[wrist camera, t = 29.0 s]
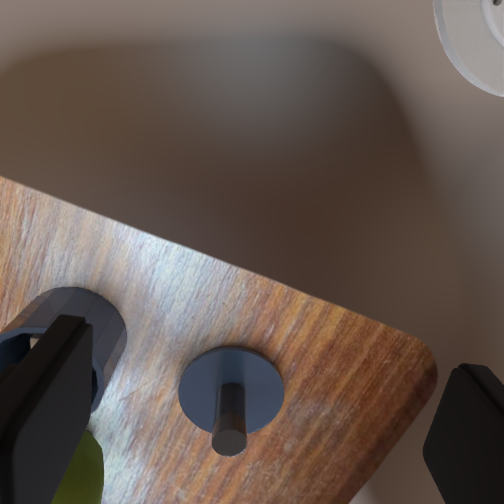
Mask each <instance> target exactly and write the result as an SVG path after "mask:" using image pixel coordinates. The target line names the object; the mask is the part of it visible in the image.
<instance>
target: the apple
mask: <svg viewBox="0 0 504 504" xmlns="http://www.w3.org/2000/svg"><path fill="white" fill-rule="evenodd" d="M103 486H104V463H103V453H102V448H101V447H100V445H99V444H98V442H97V441H96V439H95V438H94V437H93V435H92V434H91V433H89V432H88V431H85V432H84V434H83V436H82V438H81V440H80V442H79V445H78V447H77V449H76V451H75V453H74V455H73V457H72V460H71V462H70V464H69V466H68V468H67V470H66V472H65V474H64V477H63V479H62V481H61V483H60V485H59V487H58V489H57V492H56V494H55V496H54V498H53V500H52V502H51V504H101V498H102V492H103Z"/></svg>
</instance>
